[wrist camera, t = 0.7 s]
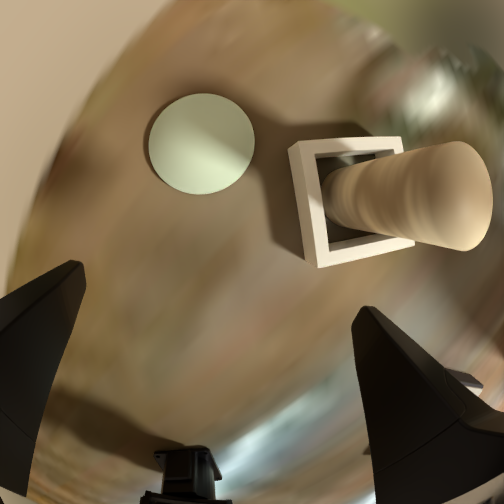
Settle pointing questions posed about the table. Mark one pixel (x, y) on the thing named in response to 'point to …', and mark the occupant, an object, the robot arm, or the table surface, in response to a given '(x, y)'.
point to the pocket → (312, 204)
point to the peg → (415, 196)
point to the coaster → (201, 143)
